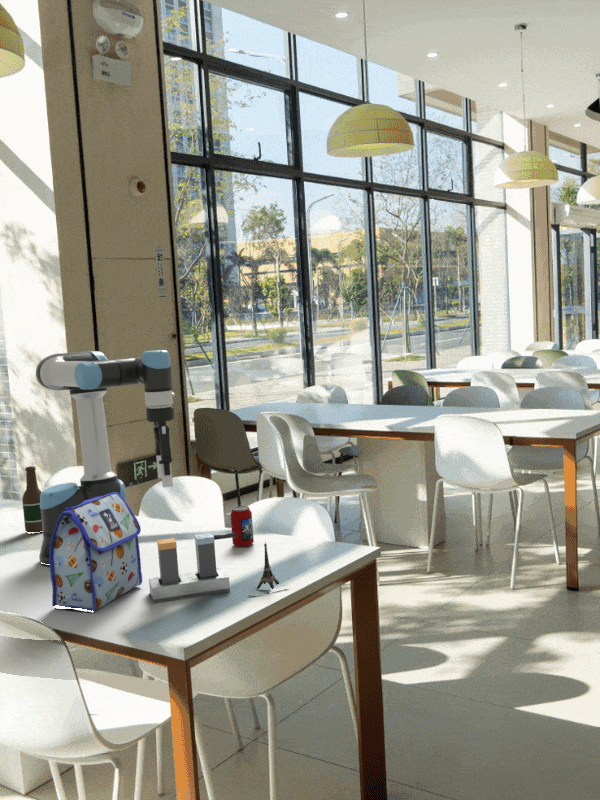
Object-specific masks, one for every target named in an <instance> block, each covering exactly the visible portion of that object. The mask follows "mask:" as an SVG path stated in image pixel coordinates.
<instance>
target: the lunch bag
mask: <svg viewBox="0 0 600 800" xmlns="http://www.w3.org/2000/svg"><path fill="white" fill-rule="evenodd" d="M65 510H66V511H64V512H62V513H61V514H60V515H59V518H58V520H57V525H56V527H55V530H54V532H53V535H52V539H51V544H50V566H49V571H50V580H51V586H52V588H51V589H52V598H51V599H52V600H51V601H52V602H51V604H52V607H53V606H55V605H59V606H65V607H71V608H82V609H87V610H91V611H92V610H93V611H95V612H96V611H97V610H96V609H98V610H99V608H100V609H101V608H102V606H103V607H104V606H106V605H107V604H109V603H110V601H111V602H113V600H115V599H117V598H119V597H120V596H122V595H124V594H125V593H127V592H129V591H130V590H133V589H134V588H136V587H138V586H141V584H142V583H143V573H142V562H141V553H140V544H139V535H140V534H141V531H142V530H141V528H142V527H141V525H140V523H139V520H138V519H137V517H136V516H135V514H134V512H133V510H132V509H131V508H130V506H129V504H128V503H127V501H126V502H125V500H124V499H123V497H122V496H121V495H120V494H119V493H118V492H112V493H110V494H107V495H104V496H99V497H95V498H92V499H89V500H85V501H83V502H82V503H81V504H79V505H77V506H74V507H70V508H65Z"/></svg>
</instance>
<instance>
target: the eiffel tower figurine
mask: <svg viewBox="0 0 600 800" xmlns="http://www.w3.org/2000/svg"><path fill="white" fill-rule="evenodd" d="M263 547H264V567H263V572H262V576H261V577H260V580H259V584H258V585H257V587H256V589H259V588H260V587H261V585H262V584H263V583H264V584H265V583H267V584H269V585H270V587H271V588H272V589H273V588H274V585H273V584H279V583H280V581H278V579H277V578H276V577H275V574H273V572H272V570H271V569H272V568H271V565H270V561H269V555H268V548H267V547H268V543H266V542H265V543H264V544H263Z"/></svg>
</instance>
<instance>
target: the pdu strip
mask: <svg viewBox="0 0 600 800" xmlns="http://www.w3.org/2000/svg"><path fill="white" fill-rule="evenodd" d="M233 537H236V533H232V532H229V533H228V532H227V533H223V534H222V533H221V534H215V535H213V534H212V532H210V533H202V534H194V542H195V543H194V544H195V545H194V546H195V555H196V566H197V567H196V568H197V569H196V570H197V571H192V572H186V573H179V582H178V583H171V584H164V585H161V579H160V576H157V577H151V578H150V577H149V578H148V584H149V594H150V597H151V600H152V604H159V603H164V602H172V601H177V600H185V599H191V598H199V597H204V596H211V595H217V594H223V593H230V592H231V584H230V576H229V575H228V573H227V572H226V570H225V569H224V567H218V568H217V559H216V549H215V548H216V547H215V540H217V541H218V540H223V539H232V538H233Z"/></svg>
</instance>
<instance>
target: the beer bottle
mask: <svg viewBox="0 0 600 800" xmlns="http://www.w3.org/2000/svg"><path fill="white" fill-rule="evenodd" d="M36 470H37V468H36V466H26V467H25V470H24V471H25V478H26V479H25V480H26V482H25V483H26V489H25V491H24V493H23V496H22V510H23V520H24V529H25V532H26V531H27V532H40V531H43V528H42V518H41V509H40V495H41V493H42V492H43V491H42V490H41V489H40V488H39V485H38V480H37V473H36Z"/></svg>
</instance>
